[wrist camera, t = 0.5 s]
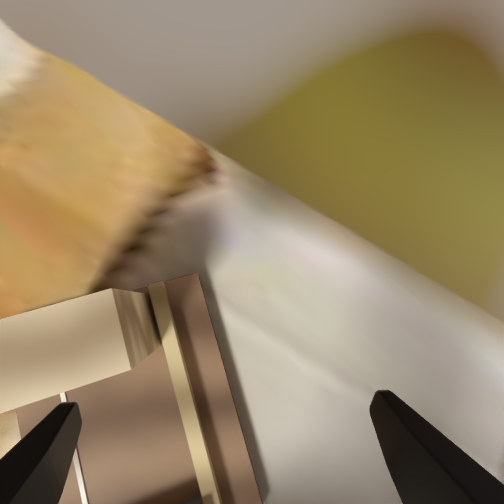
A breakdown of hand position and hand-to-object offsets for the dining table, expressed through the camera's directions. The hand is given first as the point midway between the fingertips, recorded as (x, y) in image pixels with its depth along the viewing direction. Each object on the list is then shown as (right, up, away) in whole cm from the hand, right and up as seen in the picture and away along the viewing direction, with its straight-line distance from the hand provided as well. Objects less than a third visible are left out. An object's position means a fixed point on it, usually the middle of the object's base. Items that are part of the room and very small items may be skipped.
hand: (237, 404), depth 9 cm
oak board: (-8, -8, +13) cm, 17 cm away
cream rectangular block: (-10, -1, +12) cm, 16 cm away
